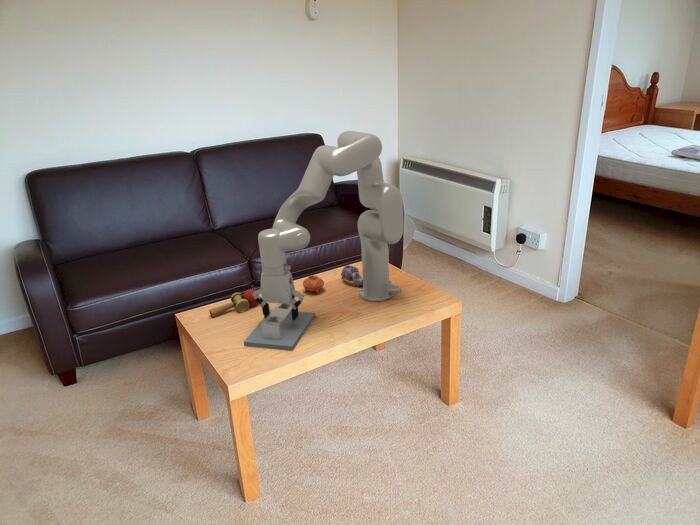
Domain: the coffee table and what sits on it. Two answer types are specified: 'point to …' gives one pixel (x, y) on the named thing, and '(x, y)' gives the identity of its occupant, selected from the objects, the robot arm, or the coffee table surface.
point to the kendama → (236, 303)
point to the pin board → (289, 337)
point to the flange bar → (277, 322)
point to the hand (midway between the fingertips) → (281, 317)
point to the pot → (313, 283)
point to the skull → (351, 275)
